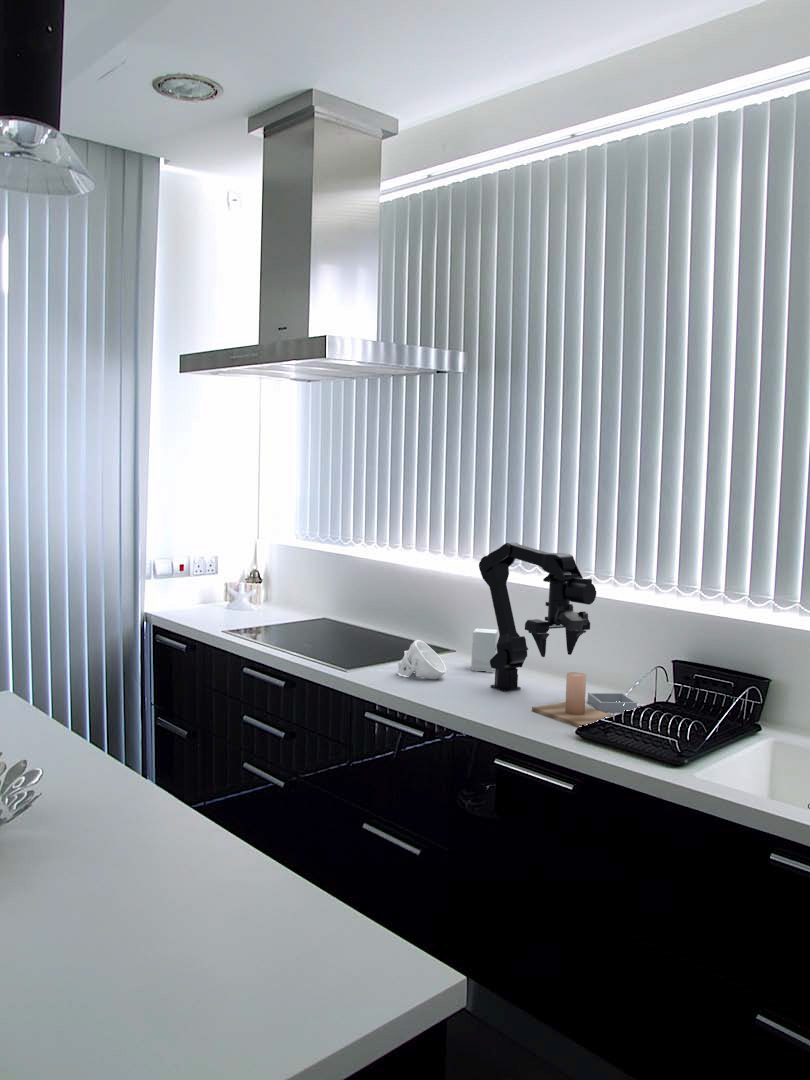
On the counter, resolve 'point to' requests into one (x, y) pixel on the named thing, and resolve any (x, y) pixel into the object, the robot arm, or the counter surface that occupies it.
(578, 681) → the pink tall rounded piece
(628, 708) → the grey box
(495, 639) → the supplement box
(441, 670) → the skull bowl
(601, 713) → the walnut board
